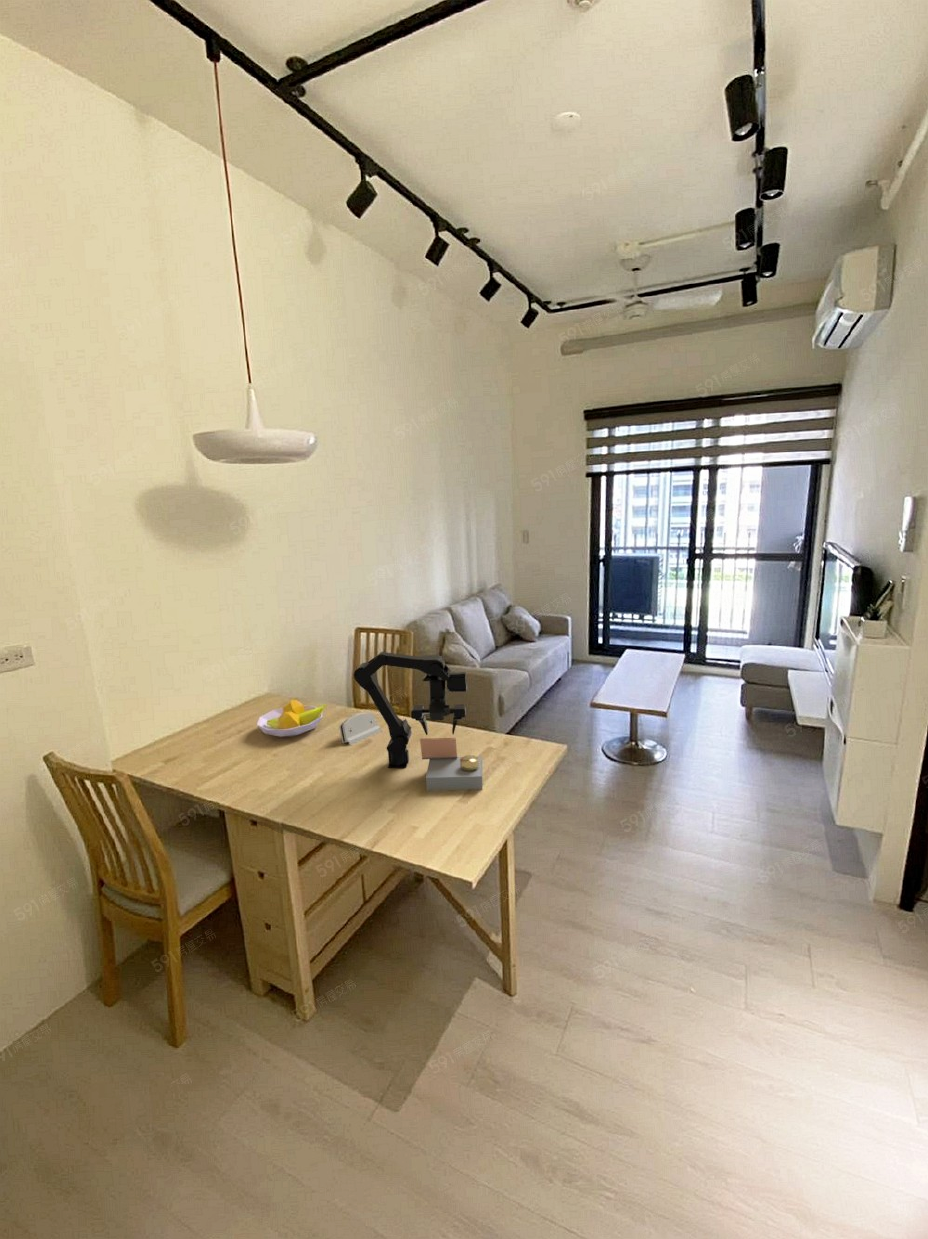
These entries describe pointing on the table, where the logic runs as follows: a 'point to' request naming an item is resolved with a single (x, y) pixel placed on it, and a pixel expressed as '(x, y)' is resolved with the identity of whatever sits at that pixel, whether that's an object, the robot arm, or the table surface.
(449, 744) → the latch flap
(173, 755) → the table surface
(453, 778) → the hitch block
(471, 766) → the tan shiny rounded piece
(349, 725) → the hinge
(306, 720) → the fruit bowl
